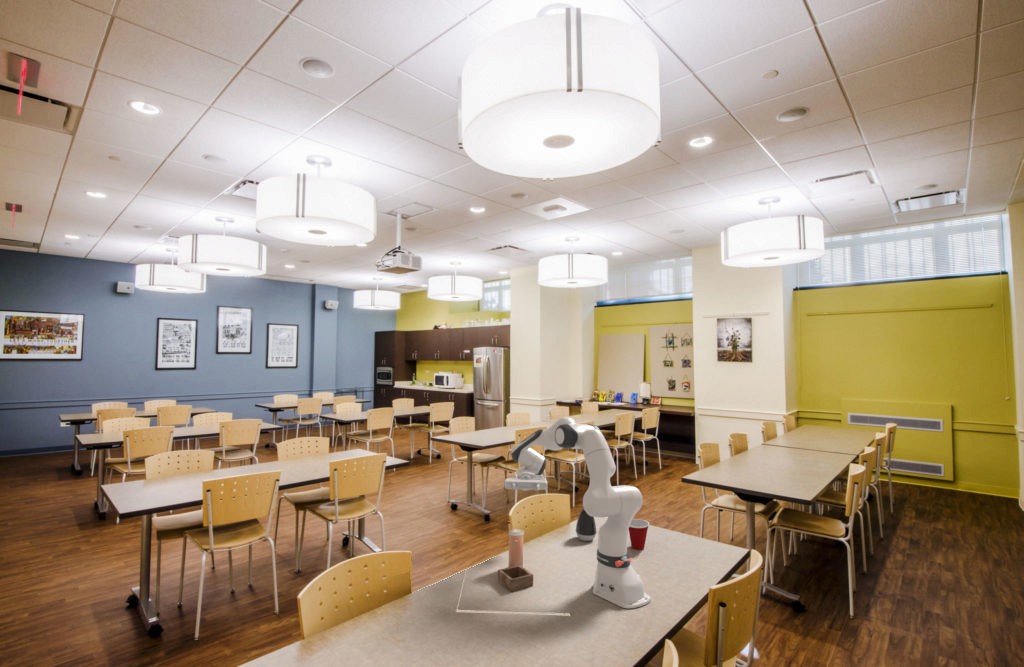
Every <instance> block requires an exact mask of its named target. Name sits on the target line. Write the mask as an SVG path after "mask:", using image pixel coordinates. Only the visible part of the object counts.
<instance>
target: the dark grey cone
mask: <svg viewBox="0 0 1024 667" xmlns="http://www.w3.org/2000/svg"><path fill="white" fill-rule="evenodd" d="M580 510H581V511H580V512H579V515H578V516H577V521H576V526H575V533H576V536H577V538H578V539H579V540H581V541H583V542H590V541H593V540H594V539H595V537H596V535H597V525H596V524H597V523H596V520H595V517H592V516H589V515H588V514H587V513H586V511H585V509H584V508H582V509H580Z"/></svg>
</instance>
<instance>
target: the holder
mask: <svg viewBox="0 0 1024 667" xmlns="http://www.w3.org/2000/svg"><path fill="white" fill-rule="evenodd" d="M497 583H500V584H501V585H502V586H503V587H504V588H506V589H507V590H508V591H509V592H510V593H512V592H516V591H519V590H523V589H528V588H530V587H533V586H534V574H533V573H531V572H530V571H529V570H527V569H526V568H524V566H523V567H522V566H520V565H517V566H513V567H509V568H508V567H505V568H500V569H498V570H497Z"/></svg>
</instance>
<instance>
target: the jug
mask: <svg viewBox="0 0 1024 667" xmlns="http://www.w3.org/2000/svg"><path fill="white" fill-rule="evenodd" d="M508 531H509V532H508V534H509V536H508V537H509V538H508V565H507V568H509V567H513V566H517V565H520V566H522V567H523V568H524V536H525V535H524V534H525V531H524V530H522V529H519V528H514V529H510V530H508Z"/></svg>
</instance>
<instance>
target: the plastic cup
mask: <svg viewBox="0 0 1024 667" xmlns="http://www.w3.org/2000/svg"><path fill="white" fill-rule="evenodd" d="M649 526H650V523H649V521H647V520H645V519H640V518H633V519H632V521H631V524H630V526H629V530H628V533H629V534H628V535H629V539H630V545H631V549H634V550H639V551H641V550H644V549H645V545H646V541H647V540H646V539H647V536H648V535H647V533H648V529H649Z"/></svg>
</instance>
